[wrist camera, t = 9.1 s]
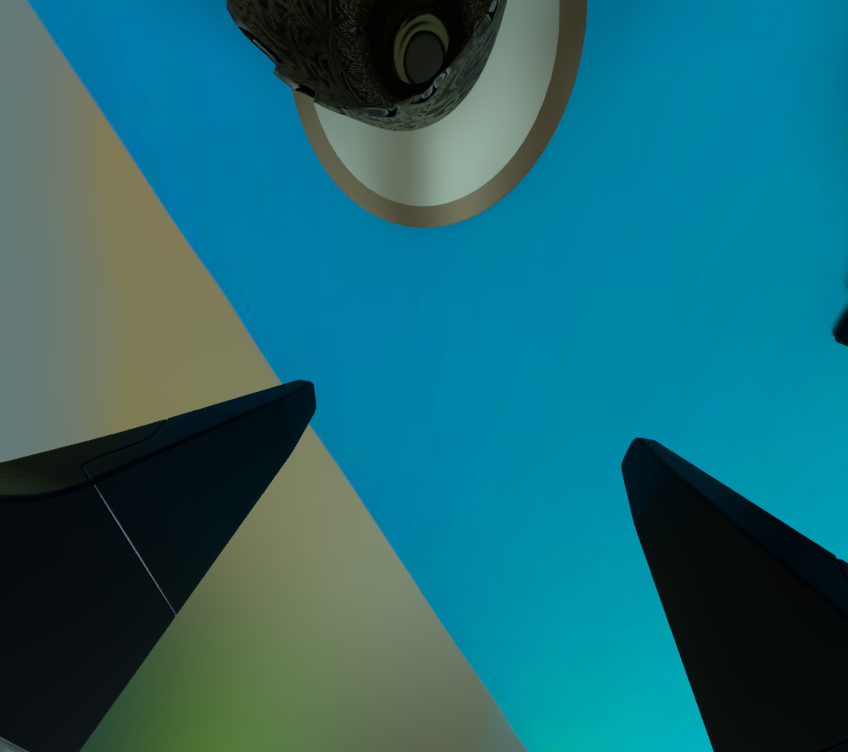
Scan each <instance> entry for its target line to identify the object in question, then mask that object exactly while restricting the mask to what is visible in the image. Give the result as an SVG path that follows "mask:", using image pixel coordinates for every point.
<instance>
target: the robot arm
mask: <svg viewBox="0 0 848 752" xmlns="http://www.w3.org/2000/svg"><path fill="white" fill-rule="evenodd" d="M835 340H836V341H837V342H838V343H840V344H843V345H846V346H848V318H847V319H846V321H845V322H844V324H843V325H842V327H841V328H840V330H839V331H838V332H837V334H836V336H835ZM315 410H316V398H315V390H314V385H313V383H312V382H310V381H305V380H296V381H292V382H289V383H286V384H282V385H279V386H275V387H272V388H269V389H266V390H262V391H259V392H255V393H252V394H248V395H245V396H242V397H238V398H235V399H232V400H228V401H225V402H221V403H218V404H215V405H211V406H208V407H205V408H202V409H198V410H194V411H191V412H188V413H184V414H181V415H178V416H174V417H171V418H168V419H167V420H165V419H164V420H161V421H158V422H154V423H151V424H147V425H144V426H140V427H136V428H133V429H129V430H126V431H123V432H119V433H115V434H111V435H108V436H104V437H100V438H96V439H92V440H89V441H85V442H81V443H77V444H73V445H69V446H65V447H61V448H57V449H54V450H50V451H45V452H41V453H37V454H33V455H30V456H26V457H22V458H18V459H14V460H10V461H6V462H1V463H0V752H4V751H5V750H6V749H7V748H8V749H10V750H12V751H15V752H80V750H81V749H82V747H83V746H84V745H85V743H86V742H87V740H88V739H89V738H90V736H91V735H92V733H93V732H94V730H95V729H96V728H97V726H98V725H99V723H100V722H101V721H102V719H103V718H104V716H105V715H106V714H107V712H108V711H109V709H110V708H111V706H112V705H113V704H114V702H115V701H116V700H117V698H118V697H119V695H120V694H121V693H122V691H123V690H124V688H125V687H126V686H127V684H128V683H129V681H130V680H131V678H132V677H133V676H134V674H135V673H136V671H137V670H138V669H139V667H140V666H141V664H142V663H143V662H144V660H145V659H146V657H147V656H148V654H149V653H150V652H151V650H152V649H153V648H154V646H155V645H156V643H157V642H158V641H159V639H160V638H161V636H162V635H163V633H164V632H165V631H166V629H167V628H168V627H169V625H170V624H171V622H172V621H173V620H174V618H175V615H176V614H178V612H179V611H180V609H181V608H182V606H183V605H184V604H185V602H186V601H187V599H188V598H189V597H190V595H191V594H192V592H193V591H194V590H195V588H196V587H197V585H198V584H199V583H200V581H201V580H202V578H203V577H204V576H205V574H206V573H207V571H208V570H209V568H210V567H211V566H212V564H213V563H214V562H215V560H216V559H217V557H218V556H219V554H220V553H221V552H222V550H223V549H224V547H225V546H226V545H227V543H228V542H229V540H230V539H231V538H232V536H233V535H234V533H235V532H236V531H237V529H238V528H239V526H240V525H241V524H242V522H243V521H244V519H245V518H246V517H247V515H248V514H249V512H250V511H251V510H252V508H253V507H254V505H255V504H256V503H257V501H258V500H259V498H260V497H261V496H262V494H263V493H264V491H265V490H266V489H267V487H268V486H269V484H270V483H271V482H272V480H273V479H274V477H275V475H276V474H277V473H278V472H279V470H280V468H281V467H282V466H283V465H284V463H285V462H286V460H287V459H288V458H289V456H290V454H291V453H292V452H293V450H294V448H295V447H296V445H297V443H298V441H299V440H300V438H301V436H302V434H303V432H304V430H305V429H306V427H307V425H308V423H309V422H310V420H311V418H312V416H313V415H314V413H315ZM621 469H622V474H623V479H624V483H625V487H626V492H627V496H628V501H629V505H630V509H631V514H632V518H633V522H634V525H635V528H636V531H637V534H638V537H639V540H640V543H641V546H642V549H643V552H644V554H645V557H646V560H647V563H648V566H649V569H650V571H651V574H652V577H653V580H654V583H655V586H656V589H657V591H658V594H659V597H660V600H661V603H662V606H663V609H664V611H665V614H666V617H667V620H668V623H669V626H670V628H671V631H672V634H673V637H674V640H675V643H676V646H677V648H678V651H679V654H680V657H681V660H682V663H683V666H684V668H685V671H686V674H687V677H688V680H689V683H690V685H691V688H692V691H693V694H694V697H695V700H696V703H697V705H698V708H699V711H700V714H701V717H702V720H703V723H704V725H705V728H706V731H707V734H708V737H709V740H710V743H711V745H712V748H713V751H714V752H848V563H847V562H845V561H843V560H842V559H837V558H836V556H835V555H834V554H832V553H831V552H829V551H828V550H826V549H824V548H823V547H821V546H820V545H818V544H817V543H815V542H813V541H812V540H810V539H809V538H807V537H806V536H804V535H802V534H801V533H799V532H798V531H796V530H795V529H793V528H791V527H790V526H788V525H787V524H785V523H784V522H782V521H780V520H779V519H777V518H776V517H774V516H773V515H771V514H770V513H768V512H766V511H765V510H763V509H762V508H760V507H759V506H757V505H755V504H754V503H752V502H751V501H749V500H748V499H746V498H744V497H743V496H741V495H740V494H738V493H737V492H735V491H733V490H732V489H730V488H729V487H727V486H726V485H724V484H722V483H721V482H719V481H718V480H716V479H715V478H713V477H711V476H710V475H708V474H707V473H705V472H704V471H702V470H700V469H699V468H697V467H696V466H694V465H693V464H691V463H690V462H688V461H686V460H685V459H683V458H682V457H680V456H679V455H677V454H675V453H674V452H672V451H671V450H669V449H668V448H666V447H664V446H663V445H661V444H660V443H658V442H657V441H655V440H651V439H645V438H635V439H634V440H633V441H632V442H631V444H630V446H629V448H628V450H627V452H626V454H625V456H624V458H623V461H622V465H621Z"/></svg>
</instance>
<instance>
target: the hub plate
mask: <svg viewBox="0 0 848 752" xmlns="http://www.w3.org/2000/svg"><path fill="white" fill-rule="evenodd" d="M586 14H587V0H507V4H506V7H505V11H504V15H503V18H502V22H501V25H500V28H499V31H498V34H497V38H496V41H495V44H494V47H493V49H492V51H491V54H490V56H489V58H488V61H487V63H486V65H485V68H484V69H483V71H482V73H481V75H480V77H479V79H478V81H477V82H476V84H475V85H474V87H473V88H472V90H471V91H470V93H469V94H468V95H467V96H466V98H465V99H464V100H463V101H462V102H461V103H460V104H459V105H458V106H457V107H456V108H455V110H453V111H452V112H451V113H450V114H449V115H447V116H446V117H444V118H443V119H441V120H440V121H438V122H436V123H434V124H432V125H430V126H428V127H425V128H422V129H418V130H413V131H392V130H385V129H381V128H378V127H374V126H371V125H368V124H365V123H363V122H360V121H358V120H355V119H353V118H350V117H348V116H345V115H341V114H339V113H336V112H333V111H331V110H329V109H326V108H324V107H322V106H320V105H318V104H317V103H315V102H313V100H314V99H313V98H311V97H309V96H307V95H306V94H304V93H301V92H298V91H295V90H294V89H292V91H293V95H294V99H295V103H296V106H297V110H298V114H299V117H300V120H301V122H302V125H303V128H304V130H305V133H306V136H307V138H308V140H309V142H310V144H311V146H312V148H313V150H314V152H315V154H316V156H317V157H318V159H319V161H320V162H321V164H322V165H323V167H324V169H325V170H326V172H327V173H328V174H329V175H330V177H331V178H332V179H333V181H334V182H335V183H336V184H337V186H338V187H339V188H340V189H341V190H342V191H343V192H344V193H345V194H346V195H347V196H348V197H349V198H351V199H352V200H353V201H354V202H356V203H357V204H358V205H359V206H361V207H362V208H364V209H365V210H367V211H369V212H370V213H372V214H374V215H375V216H377V217H380V218H382V219H384V220H387V221H389V222H392V223H396V224H400V225H404V226H410V227H419V228H424V227H440V226H445V225H450V224H455V223H458V222H461V221H464V220H467V219H470V218H472V217H474V216H476V215H478V214H480V213H482V212H484V211H485V210H487V209H488V208H490V207H491V206H493V205H494V204H496V203H497V202H499V201H500V200H501V199H502V198H503V197H505V196H506V195H507V194H508V193H509V192H510V191H512V190H513V189H514V188H515V186H516V185H517V184H518V183H519V182H520V181H521V180H522V179H523V178H524V177H525V176H526V175H527V173H528V172H529V171H530V169H531V168H532V167H533V165H534V164H535V162H536V161H537V160H538V158H539V157H540V156H541V154H542V153H543V151H544V150H545V148H546V146H547V144H548V143H549V141H550V139H551V138H552V136H553V134H554V132H555V131H556V128H557V126H558V124H559V122H560V120H561V117H562V115H563V113H564V111H565V109H566V106H567V103H568V100H569V98H570V95H571V92H572V89H573V86H574V83H575V80H576V76H577V71H578V67H579V63H580V59H581V55H582V49H583V42H584V35H585V28H586ZM442 60H443V54H442V48H441V45H440V43H439V41H438V40H437V38H436V37H434V36H433V35H432V34H429V33H421V34H419V35H417V36H416V37H415V38H414V39H413V40H412V41H411V42H410V44H409V46H408V48H407V52H406V58H405V63H406V69H407V72H408V74H409V76H410V78H411V79H412V80H413V81H414V82H415V83H417V84H419V83H422V82H425V81H427V80H428V79H430V78H431V77H432V76H433V75H434V74H435V73H436V72H437V71H438V69H439V68H440V66H441V65H442Z"/></svg>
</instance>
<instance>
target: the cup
mask: <svg viewBox="0 0 848 752" xmlns="http://www.w3.org/2000/svg"><path fill="white" fill-rule="evenodd" d="M506 4H507V0H228V1H226V5H227V10H228V12H229V13H230V15H231V17H232V18H233V20H234V22H235V23H236V25H237V26H238V28H239V29H240V30H241V31H242V32H243V34H244V35H245V36H246V37H247V38H248V39H249V40H250V41H251V42H252V43H253V44H254V45H256V46H257V47H258V48H259V49H260V50H261V51H262V52H264V53H265V54H266V55H267V56H268V57H269V58H270V59H271V60H272V61H273V62H274V63H275V64H276V65H277V66H276V67H275V70H274V72H273V73H274V74H275V75H276V76H277V77H278V78H280V79H281V80H282V81H283V82H285V83H286V84H287V85H289V86H290V87H291V88H292V89H294V90H295V91H298V92H301V93H304V94H306V95H307V96H309V97H311V98H313V99H314V100H313V102H315V103H317V104H318V105H320V106H322V107H324V108H326V109H329V110H331V111H333V112H336V113H339V114H341V115H345V116H348V117H350V118H353V119H355V120H358V121H360V122H363V123H365V124H368V125H371V126H374V127H378V128H381V129H385V130H392V131H413V130H418V129H422V128H425V127H428V126H430V125H432V124H434V123H436V122H438V121H440V120H441V119H443V118H444V117H446V116H447V115H449V114H450V113H451V112H452V111H453V110H455V108H456V107H457V106H458V105H459V104H460V103H461V102H462V101H463V100H464V99H465V98H466V96H467V95H468V94H469V93H470V91H471V90H472V88H473V87H474V85H475V84H476V82H477V81H478V79H479V77H480V75H481V73H482V71H483V69H484V68H485V65H486V63H487V61H488V58H489V56H490V54H491V51H492V49H493V47H494V44H495V41H496V38H497V34H498V31H499V28H500V25H501V22H502V18H503V15H504V11H505V7H506ZM421 33H429V34H432V35H433V36H434V37H436V38H437V40H438V41H439V43H440V45H441V48H442V54H443V60H442V65H441V66H440V68H439V69H438V71H437V72H436V73H435V74H434V75H433V76H432V77H431V78H430V79H428V80H427V81H425V82H422V83H419V84H417V83H415V82H414V81H413V80H412V79H411V78H410V76H409V74H408V72H407V69H406V63H405V58H406V52H407V48H408V46H409V44H410V42H411V41H412V40H413V39H414V38H415V37H416V36H417V35H419V34H421Z"/></svg>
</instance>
